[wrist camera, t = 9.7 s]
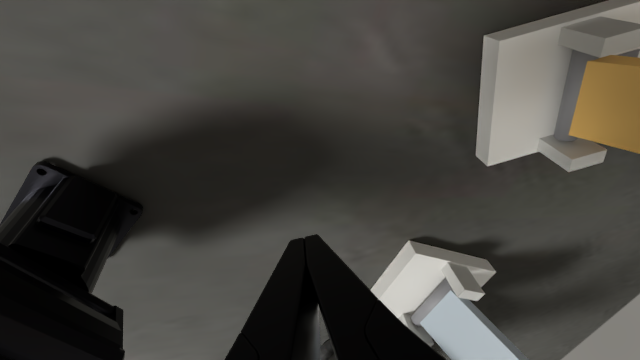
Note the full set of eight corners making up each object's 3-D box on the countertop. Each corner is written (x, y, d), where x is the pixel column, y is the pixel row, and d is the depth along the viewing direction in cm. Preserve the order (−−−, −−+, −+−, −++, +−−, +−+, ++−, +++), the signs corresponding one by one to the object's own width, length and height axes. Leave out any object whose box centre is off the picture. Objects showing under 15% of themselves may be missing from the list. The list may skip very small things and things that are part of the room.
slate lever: (408, 317, 33) (512, 439, 27) (444, 277, 31) (569, 403, 24) (415, 312, 34) (517, 429, 28) (450, 274, 32) (572, 393, 25)
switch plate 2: (475, 155, 26) (513, 190, 22) (483, 35, 21) (535, 54, 17) (597, 120, 26) (655, 148, 22) (636, -8, 21) (721, 1, 17)
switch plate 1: (360, 302, 34) (374, 345, 31) (408, 240, 30) (431, 281, 26) (435, 313, 38) (455, 353, 34) (486, 259, 34) (516, 298, 30)
